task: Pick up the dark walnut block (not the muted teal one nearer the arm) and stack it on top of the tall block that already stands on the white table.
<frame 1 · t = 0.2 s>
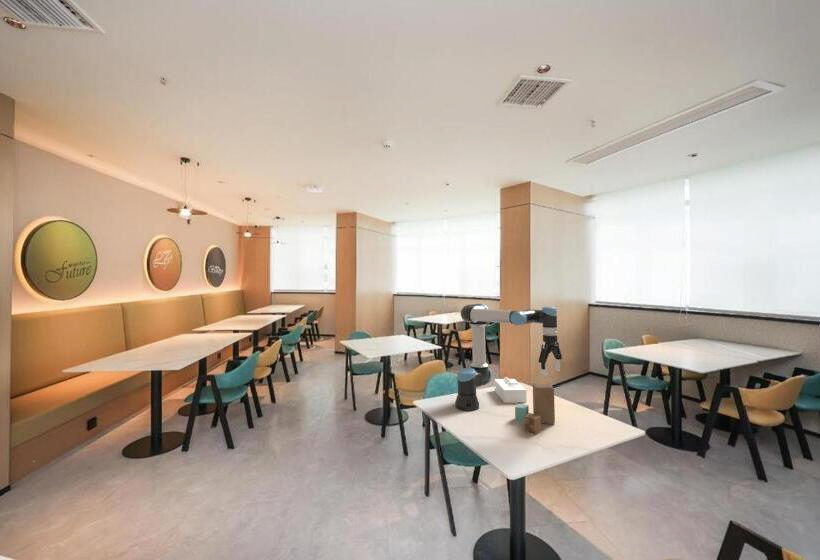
hand: (550, 373, 184), 28 cm above the table, fingers open, 13 cm apart
teal block: (522, 420, 188), on the table
tissue box: (509, 397, 229), on the table
walnut block: (532, 431, 174), on the table
block: (543, 421, 187), on the table
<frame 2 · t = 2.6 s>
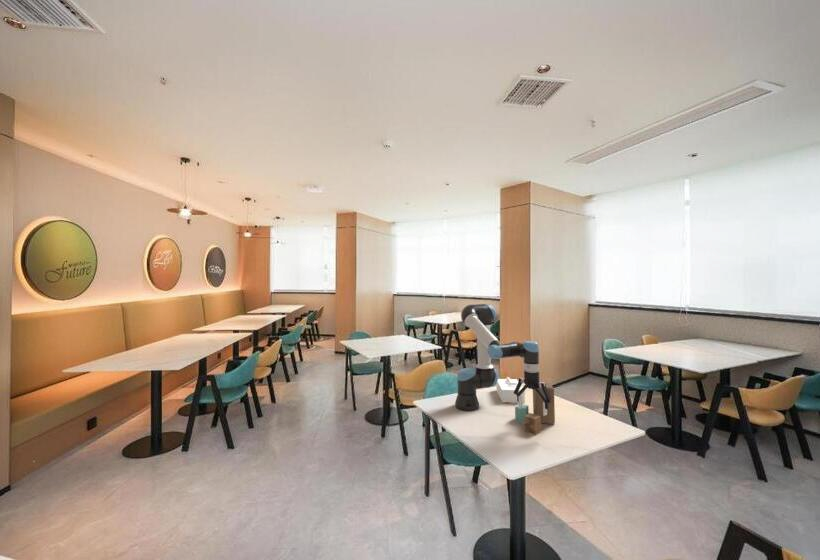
hand: (532, 411, 174), 10 cm above the table, fingers open, 13 cm apart
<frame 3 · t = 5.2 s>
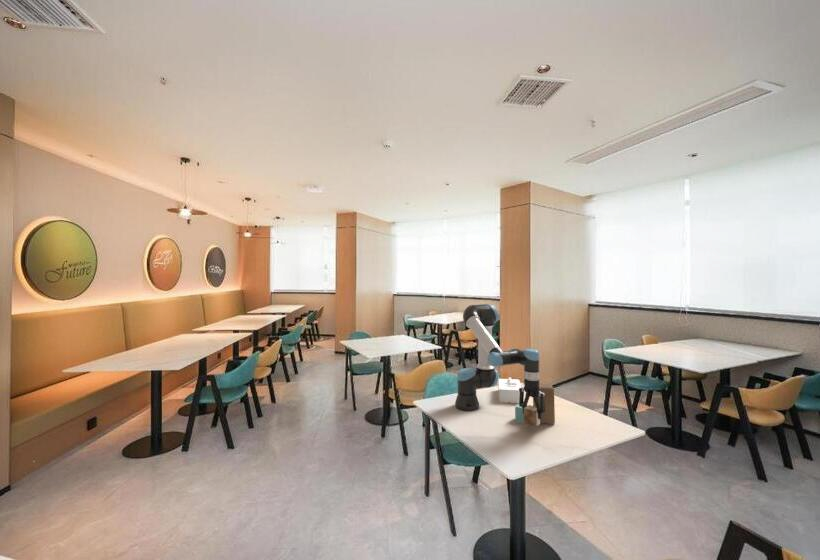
hand: (531, 422, 175), 4 cm above the table, fingers closed on walnut block, 6 cm apart
walnut block: (532, 423, 175), point 4 cm above the table, touching gripper
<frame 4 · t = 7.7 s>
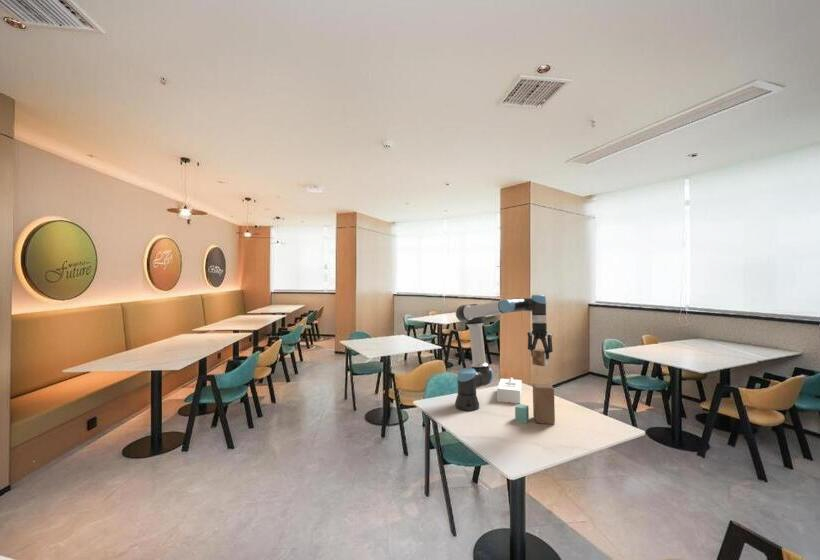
hand: (540, 363, 185), 33 cm above the table, fingers closed on walnut block, 6 cm apart
walnut block: (540, 364, 185), point 33 cm above the table, touching gripper
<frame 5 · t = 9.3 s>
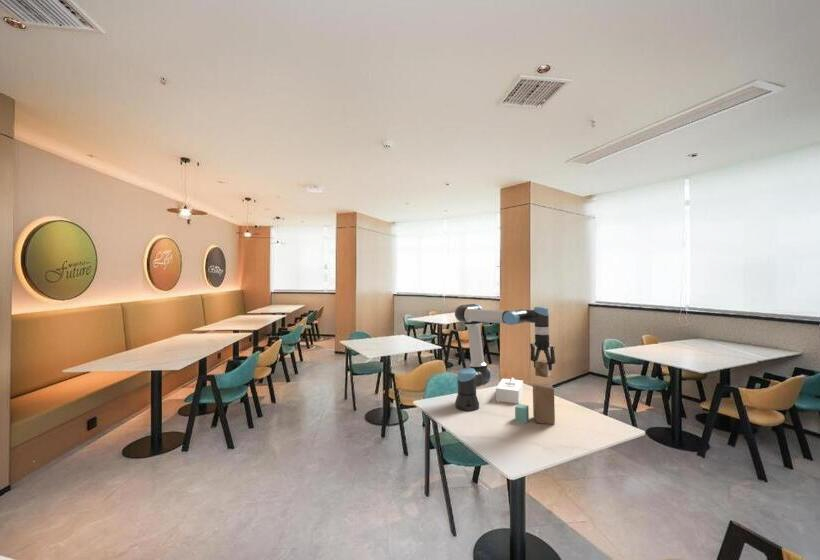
hand: (543, 374, 188), 26 cm above the table, fingers closed on walnut block, 6 cm apart
walnut block: (543, 375, 188), point 26 cm above the table, touching gripper
when the fingers open (22 cm above the table, at t = 10.4 s): walnut block drops 2 cm, resting on block.
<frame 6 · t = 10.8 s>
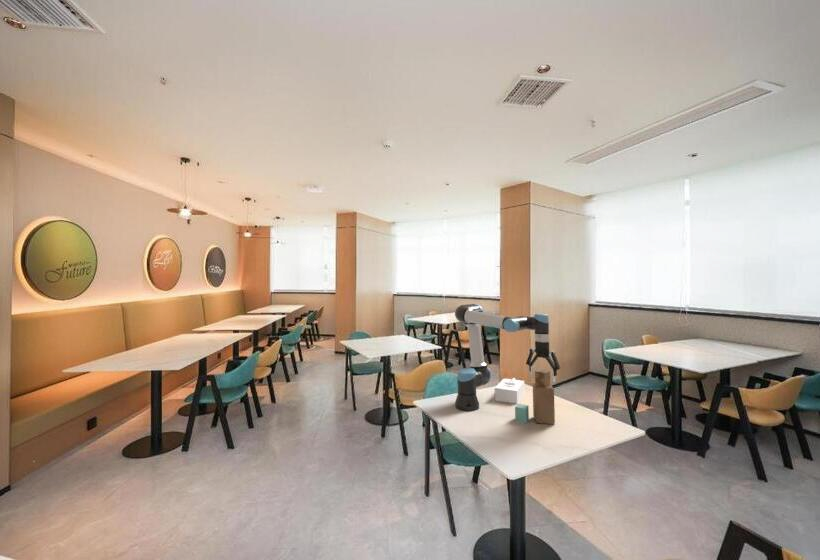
hand: (542, 379, 188), 23 cm above the table, fingers open, 11 cm apart
walnut block: (542, 385, 188), point 20 cm above the table, touching block
block: (543, 421, 187), on the table, touching walnut block
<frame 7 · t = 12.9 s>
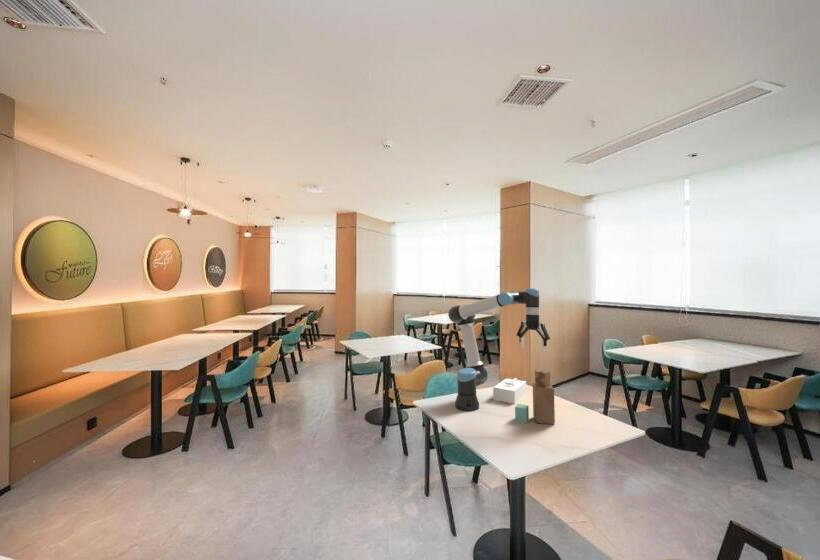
hand: (532, 349, 197), 38 cm above the table, fingers open, 13 cm apart
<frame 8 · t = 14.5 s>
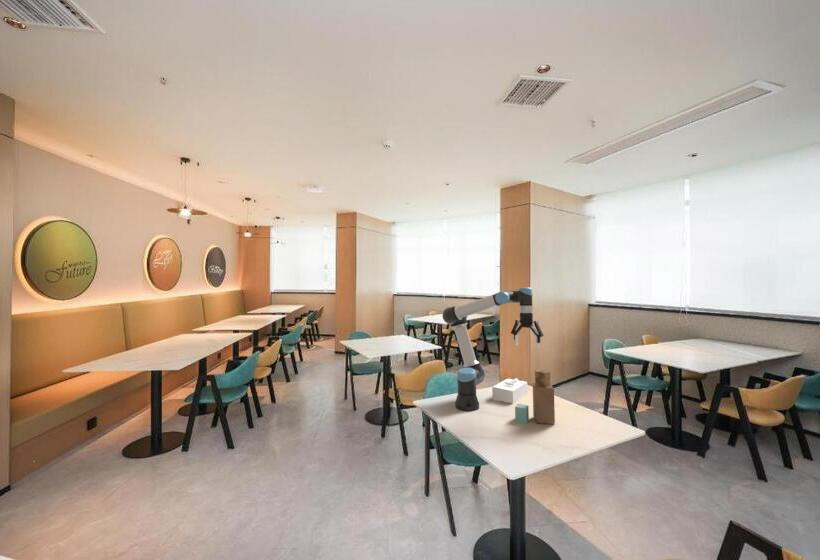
hand: (526, 346, 204), 39 cm above the table, fingers open, 13 cm apart
at the end: walnut block 0.1 cm from the block (horizontally); walnut block point 19.9 cm above the table; walnut block tilted 0° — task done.
